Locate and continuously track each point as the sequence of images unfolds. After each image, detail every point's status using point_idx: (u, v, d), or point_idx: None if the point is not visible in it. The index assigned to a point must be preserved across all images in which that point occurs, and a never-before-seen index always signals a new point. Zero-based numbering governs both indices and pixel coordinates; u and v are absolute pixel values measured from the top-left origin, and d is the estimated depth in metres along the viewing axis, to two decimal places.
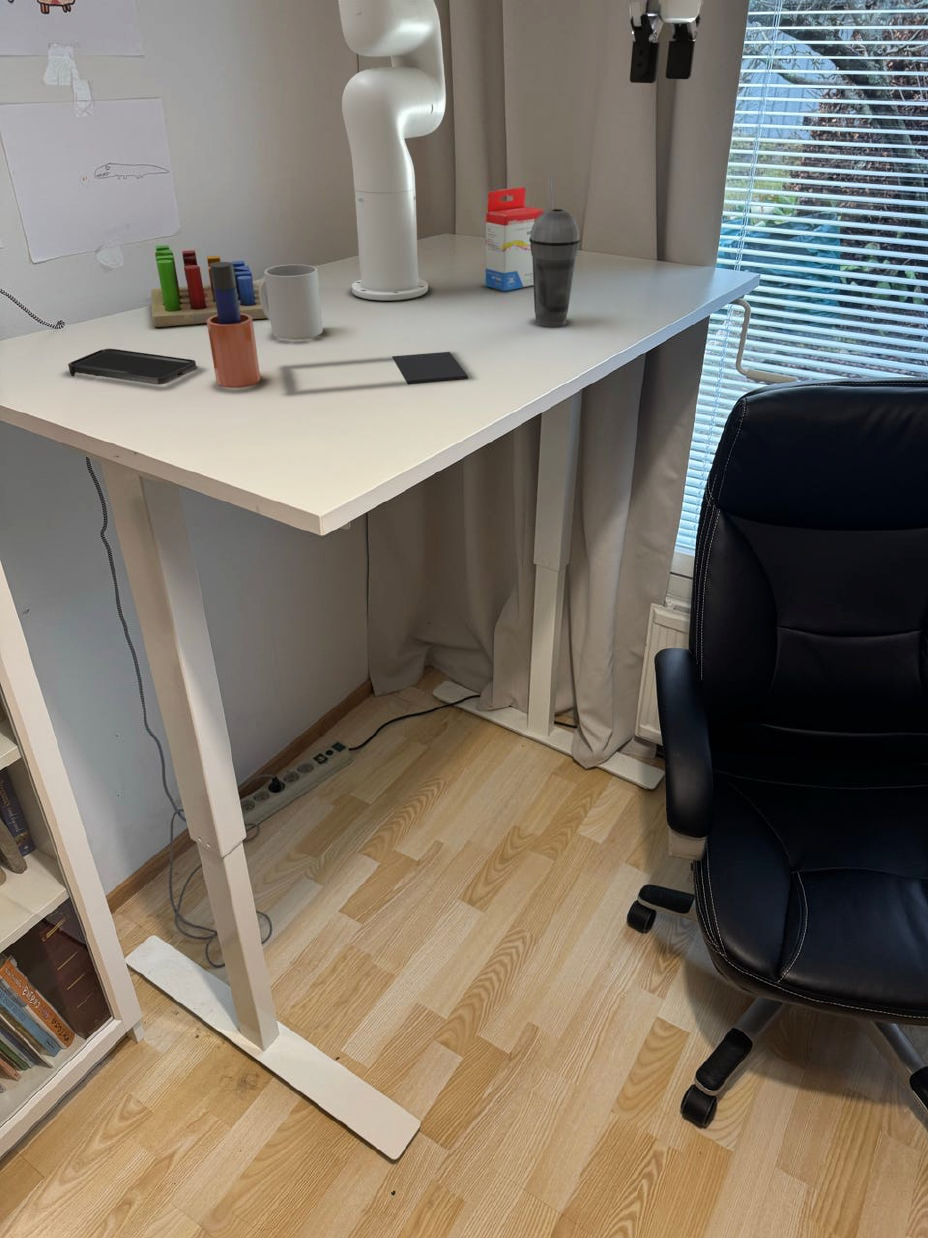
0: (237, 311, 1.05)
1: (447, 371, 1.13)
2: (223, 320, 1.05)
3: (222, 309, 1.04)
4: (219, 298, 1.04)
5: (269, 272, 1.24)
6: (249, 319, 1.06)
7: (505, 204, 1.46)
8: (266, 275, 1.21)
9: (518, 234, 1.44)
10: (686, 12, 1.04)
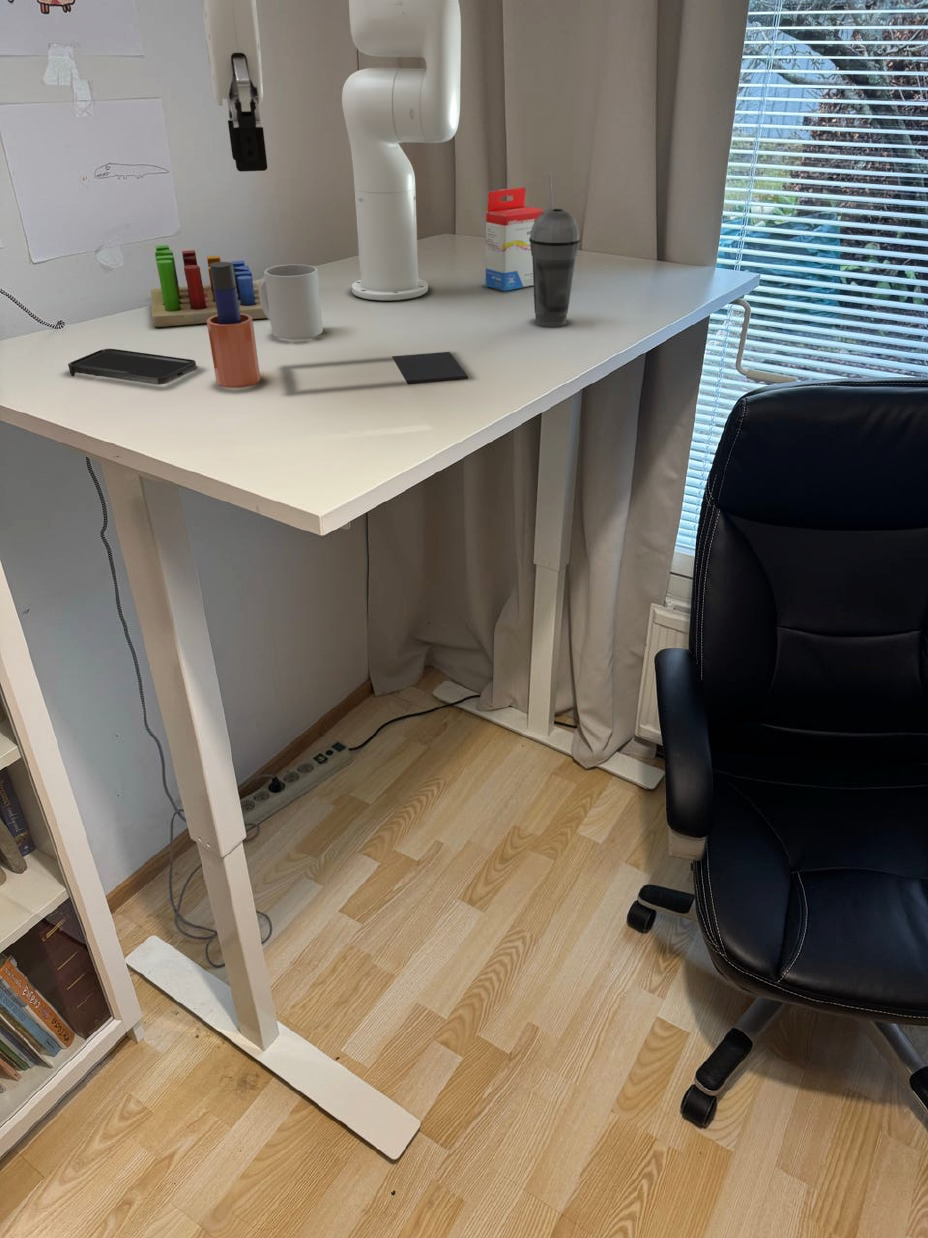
0: (237, 311, 1.05)
1: (447, 371, 1.13)
2: (223, 320, 1.05)
3: (222, 309, 1.04)
4: (219, 298, 1.04)
5: (269, 272, 1.24)
6: (249, 319, 1.06)
7: (505, 204, 1.46)
8: (266, 275, 1.21)
9: (518, 234, 1.44)
10: None
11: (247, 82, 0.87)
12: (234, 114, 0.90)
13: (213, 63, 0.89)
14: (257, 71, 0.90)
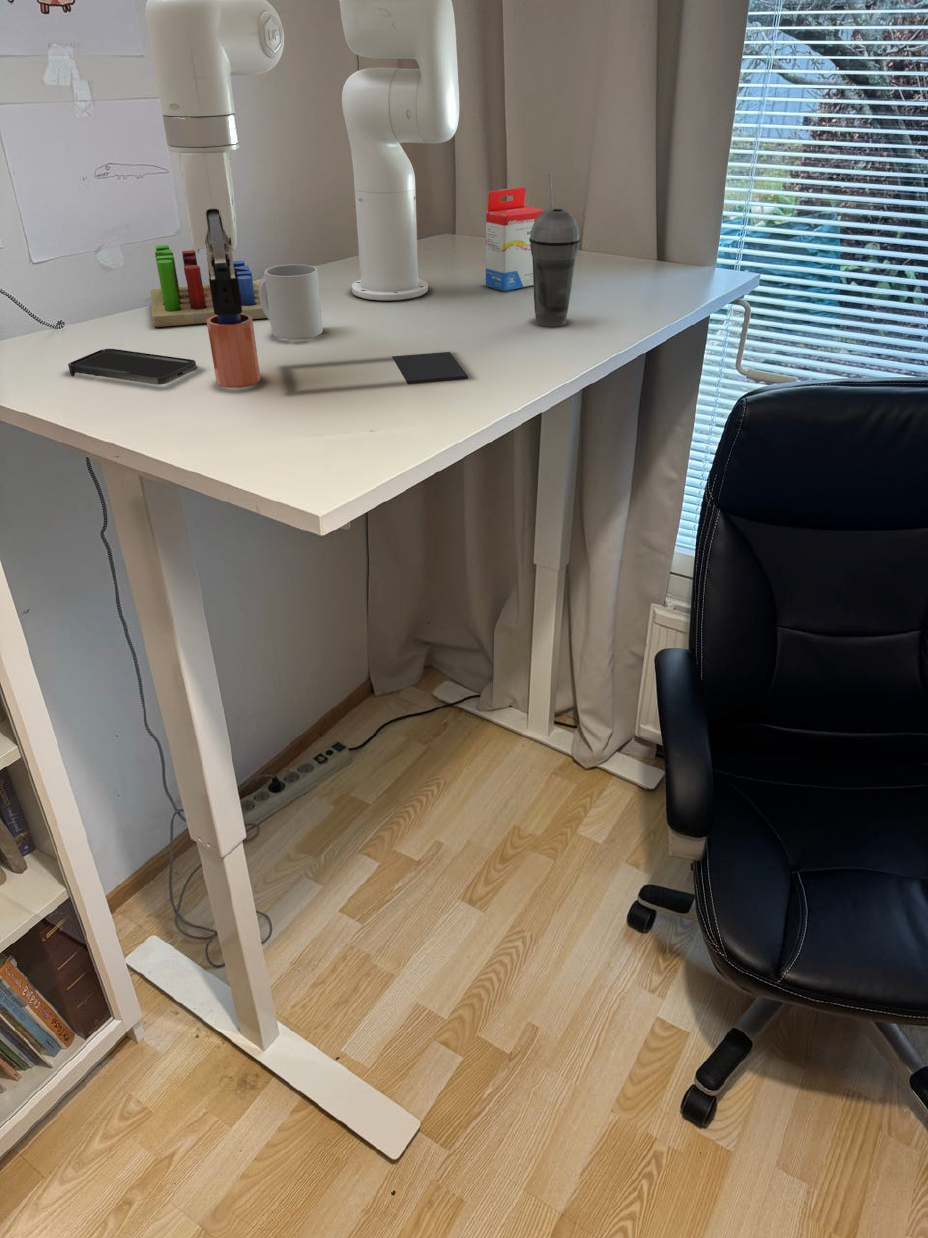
0: None
1: (447, 371, 1.13)
2: (223, 320, 1.05)
3: None
4: None
5: (269, 272, 1.24)
6: (249, 319, 1.06)
7: (505, 204, 1.46)
8: (266, 275, 1.21)
9: (518, 234, 1.44)
10: None
11: (223, 261, 0.97)
12: (211, 272, 1.00)
13: (189, 218, 0.95)
14: (230, 224, 0.96)
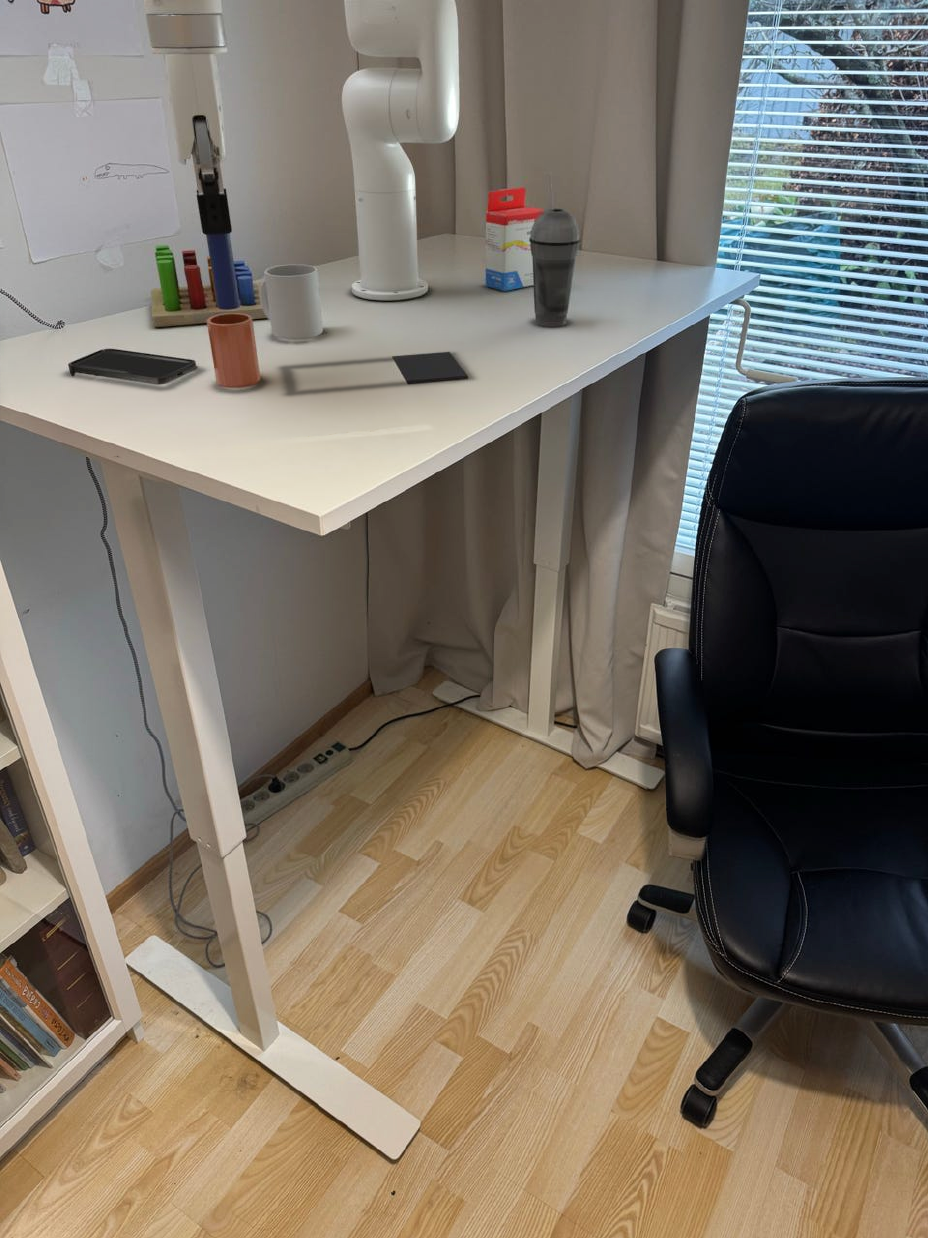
0: None
1: (447, 371, 1.13)
2: (212, 241, 1.00)
3: None
4: None
5: (269, 272, 1.24)
6: (249, 319, 1.06)
7: (505, 204, 1.46)
8: (266, 275, 1.21)
9: (518, 234, 1.44)
10: None
11: (211, 171, 0.92)
12: (199, 186, 0.95)
13: (175, 125, 0.90)
14: (218, 132, 0.91)
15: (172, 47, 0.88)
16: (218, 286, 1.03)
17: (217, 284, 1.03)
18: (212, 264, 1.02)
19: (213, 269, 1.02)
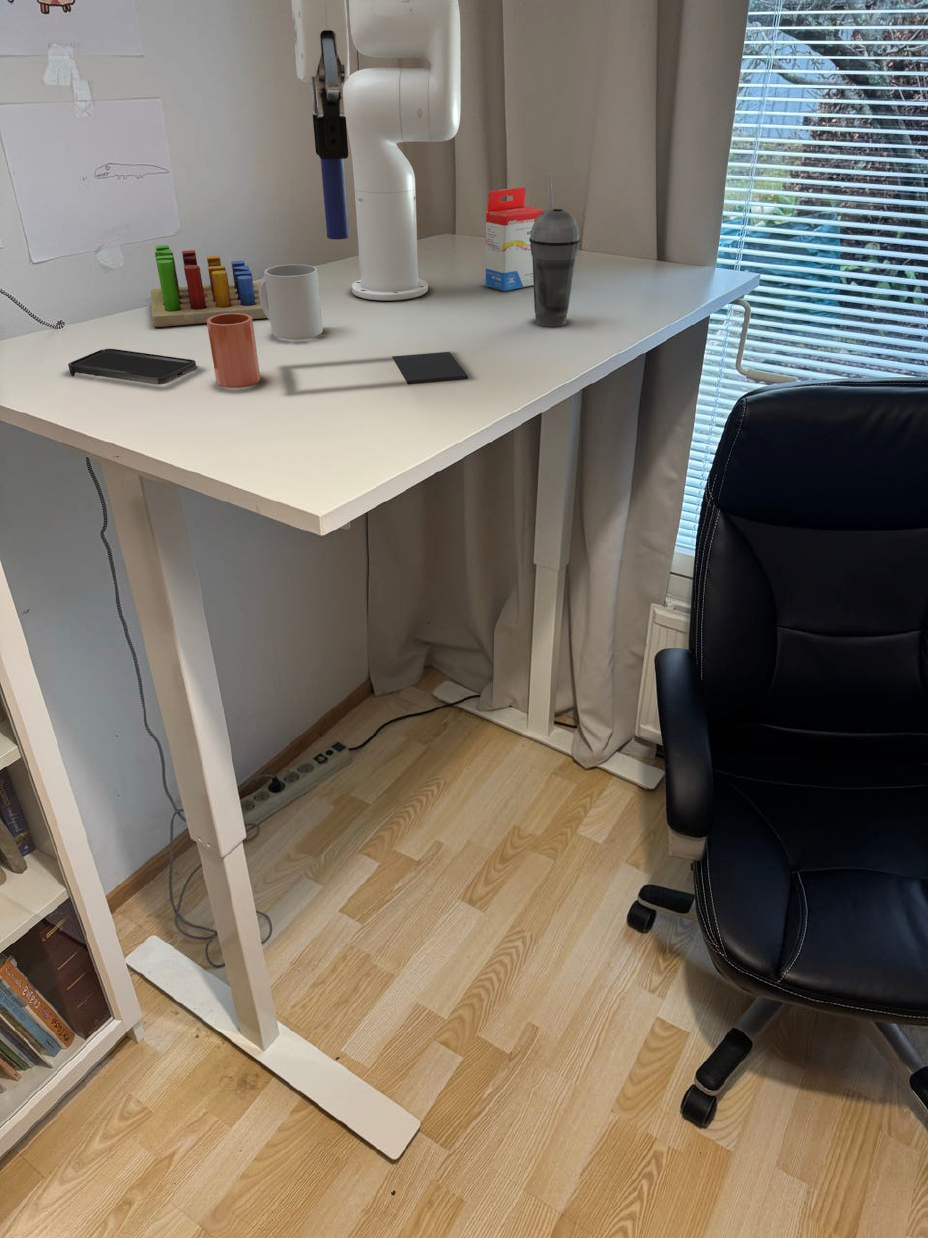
0: None
1: (447, 371, 1.13)
2: (327, 166, 0.99)
3: None
4: None
5: (269, 272, 1.24)
6: (249, 319, 1.06)
7: (505, 204, 1.46)
8: (266, 275, 1.21)
9: (518, 234, 1.44)
10: None
11: (337, 89, 0.91)
12: (320, 107, 0.94)
13: (302, 41, 0.89)
14: (345, 49, 0.90)
15: None
16: (330, 214, 1.02)
17: (329, 212, 1.02)
18: (325, 191, 1.01)
19: (326, 197, 1.01)
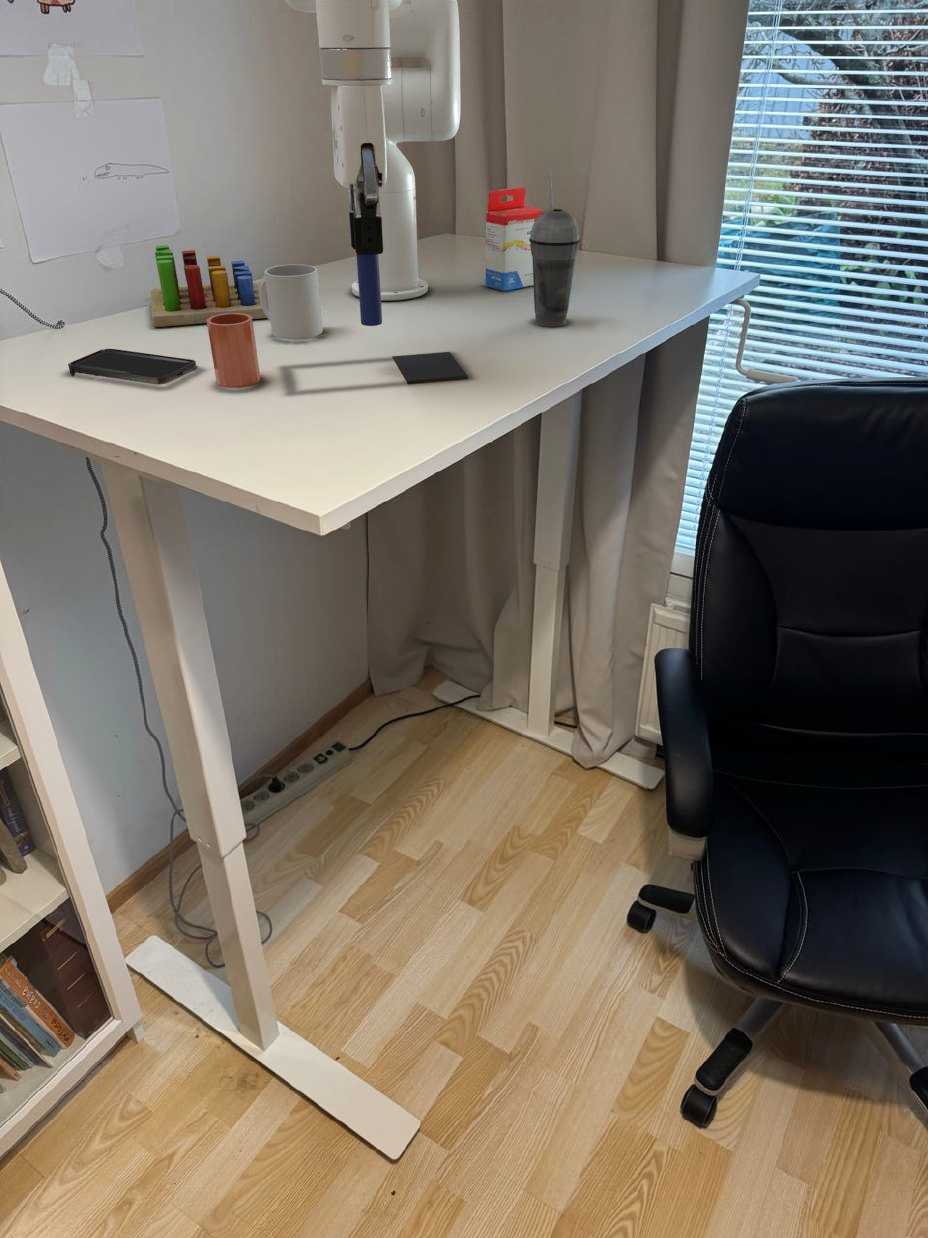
0: None
1: (447, 371, 1.13)
2: (363, 260, 1.05)
3: None
4: None
5: (269, 272, 1.24)
6: (249, 319, 1.06)
7: (505, 204, 1.46)
8: (266, 275, 1.21)
9: (518, 234, 1.44)
10: None
11: (375, 196, 0.97)
12: (358, 209, 1.00)
13: (343, 152, 0.95)
14: (383, 159, 0.96)
15: (346, 79, 0.93)
16: (364, 303, 1.08)
17: (364, 302, 1.08)
18: (360, 283, 1.07)
19: (361, 287, 1.07)
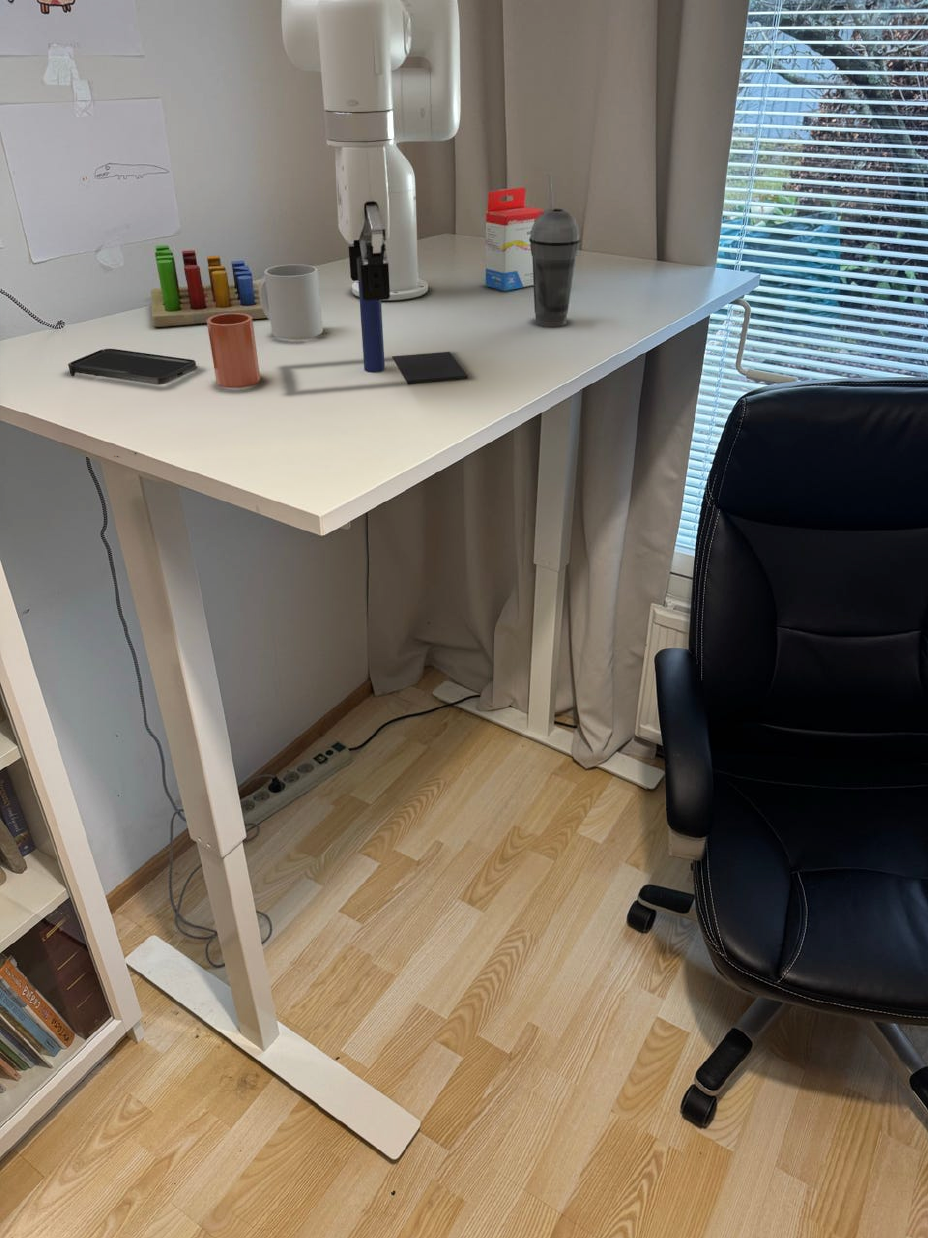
0: (379, 303, 1.08)
1: (447, 371, 1.13)
2: (366, 312, 1.08)
3: (366, 302, 1.08)
4: None
5: (269, 272, 1.24)
6: (249, 319, 1.06)
7: (505, 204, 1.46)
8: (266, 275, 1.21)
9: (518, 234, 1.44)
10: None
11: (380, 230, 0.97)
12: (364, 254, 1.00)
13: (348, 210, 0.99)
14: (386, 216, 0.99)
15: (350, 141, 0.96)
16: (368, 352, 1.11)
17: (367, 350, 1.11)
18: (364, 333, 1.10)
19: (364, 337, 1.10)
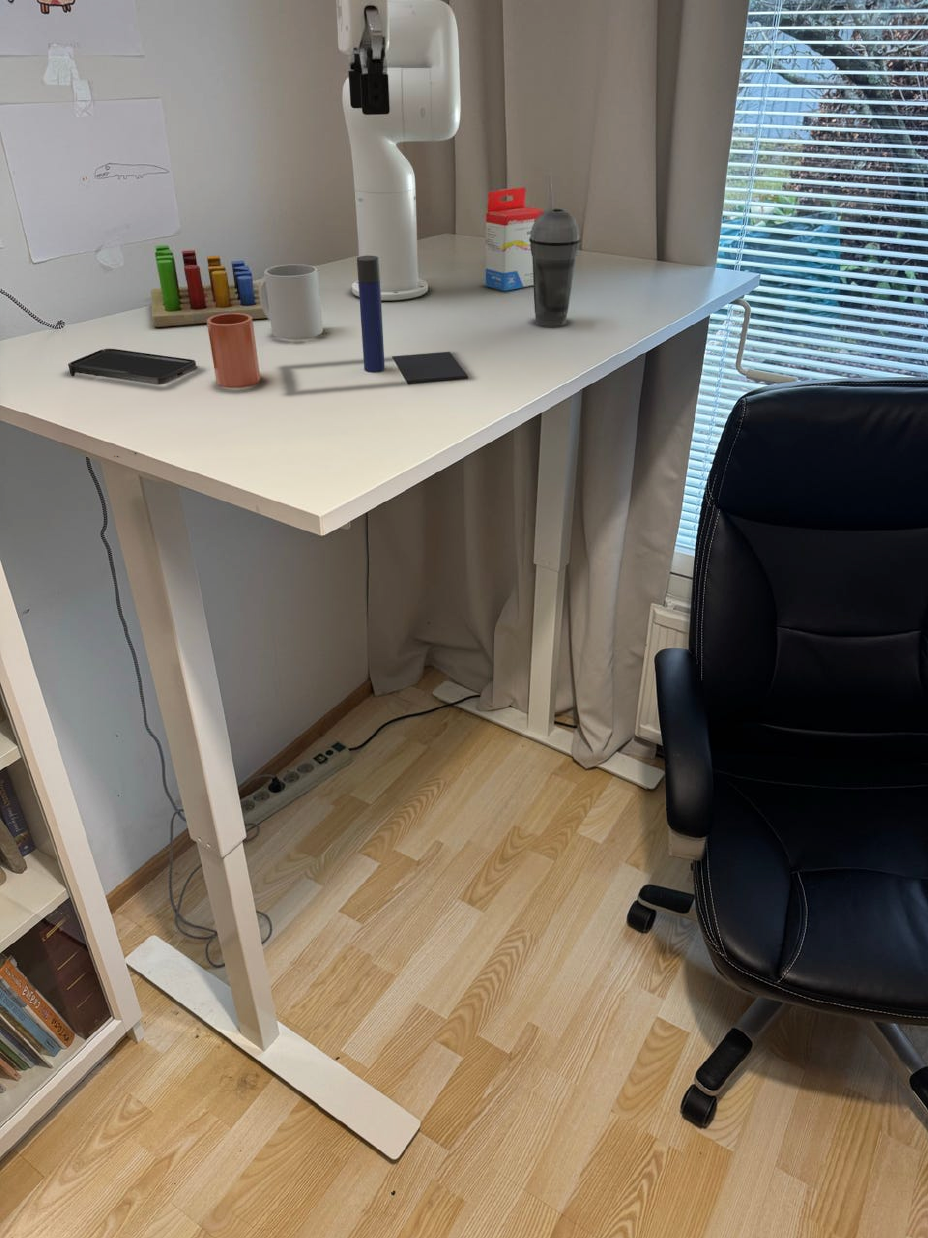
0: (379, 303, 1.08)
1: (447, 371, 1.13)
2: (366, 312, 1.08)
3: (366, 302, 1.08)
4: (364, 291, 1.07)
5: (269, 272, 1.24)
6: (249, 319, 1.06)
7: (505, 204, 1.46)
8: (266, 275, 1.21)
9: (518, 234, 1.44)
10: None
11: (380, 31, 0.97)
12: (364, 61, 1.00)
13: (348, 15, 0.99)
14: (386, 22, 1.00)
15: None
16: (368, 352, 1.11)
17: (367, 350, 1.11)
18: (364, 333, 1.10)
19: (364, 337, 1.10)
